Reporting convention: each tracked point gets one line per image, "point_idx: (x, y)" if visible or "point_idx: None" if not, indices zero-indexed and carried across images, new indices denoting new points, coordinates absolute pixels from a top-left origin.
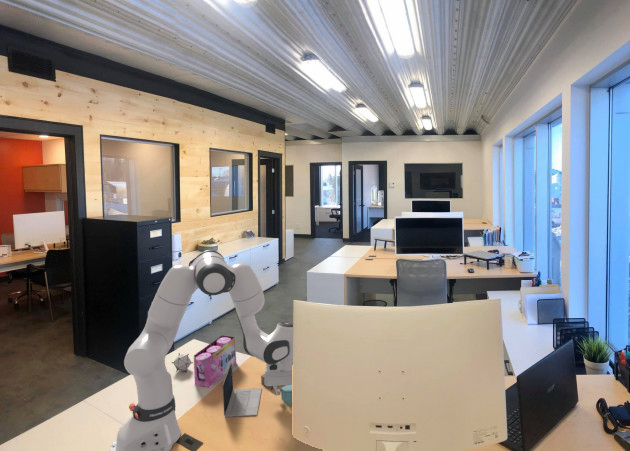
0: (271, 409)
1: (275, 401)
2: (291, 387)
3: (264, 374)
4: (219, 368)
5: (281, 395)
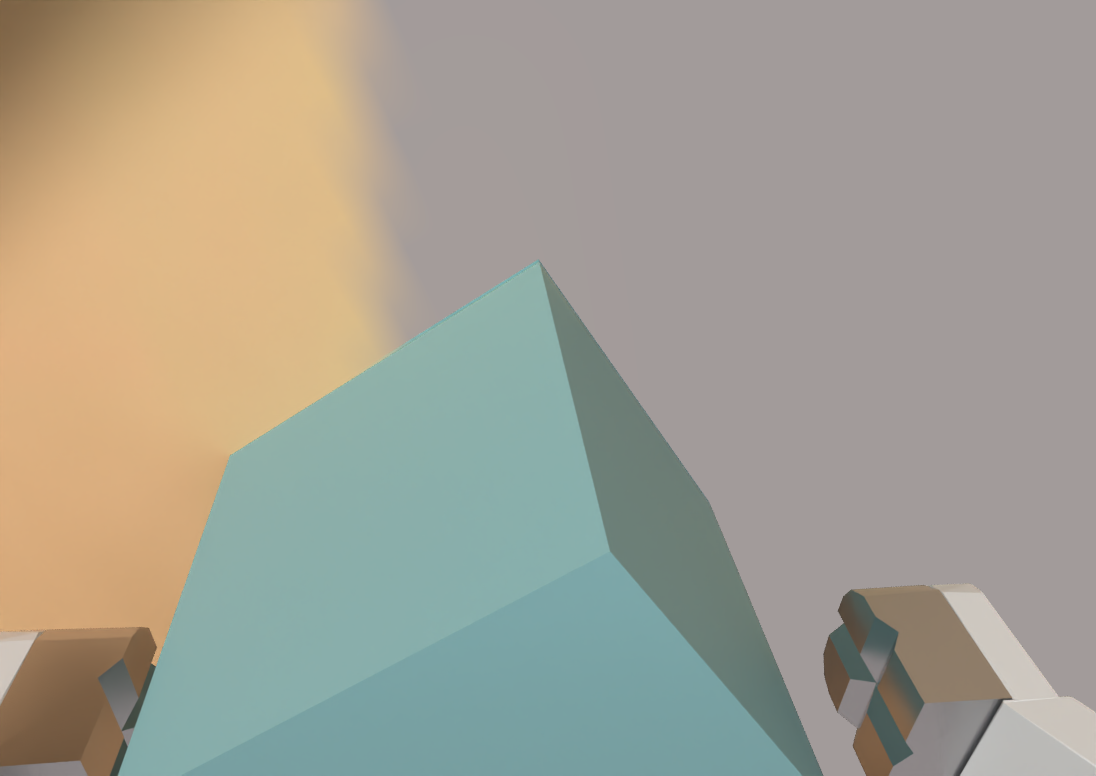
0: None
1: (75, 535)
2: (596, 773)
3: None
4: None
5: (207, 549)
